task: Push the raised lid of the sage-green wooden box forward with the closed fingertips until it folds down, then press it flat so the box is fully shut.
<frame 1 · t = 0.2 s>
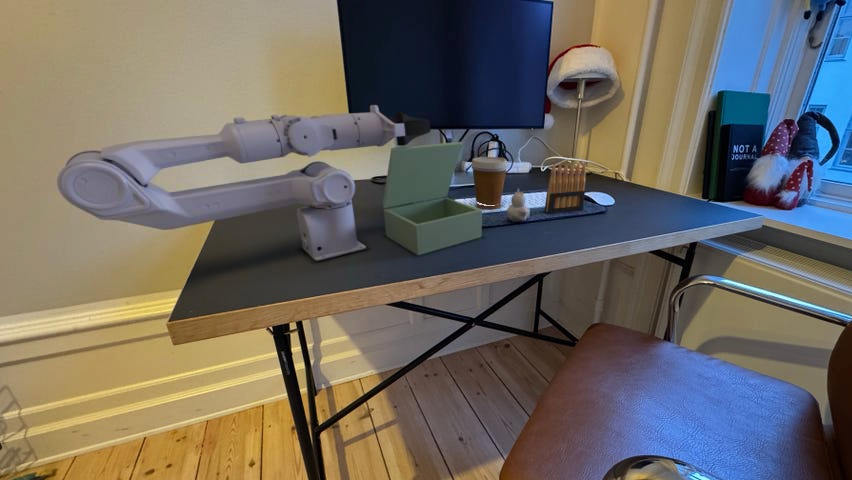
hand: (418, 125, 72), 21 cm above the table, tool horizontal, fingers open, 7 cm apart
ammunition clip: (563, 211, 95), on the table
box: (434, 236, 77), on the table
disposable coffee cup: (488, 206, 98), on the table
box lid: (422, 175, 74), point 12 cm above the table, hinge at 64.0°
light grey rounded piece: (517, 222, 87), on the table
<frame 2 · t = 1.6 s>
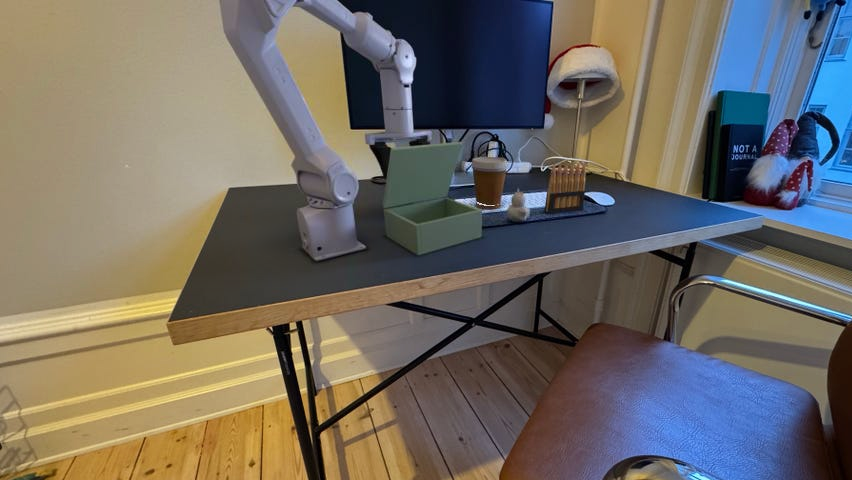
hand: (402, 176, 80), 10 cm above the table, tool pointing down, fingers open, 7 cm apart
nothing on the table moved.
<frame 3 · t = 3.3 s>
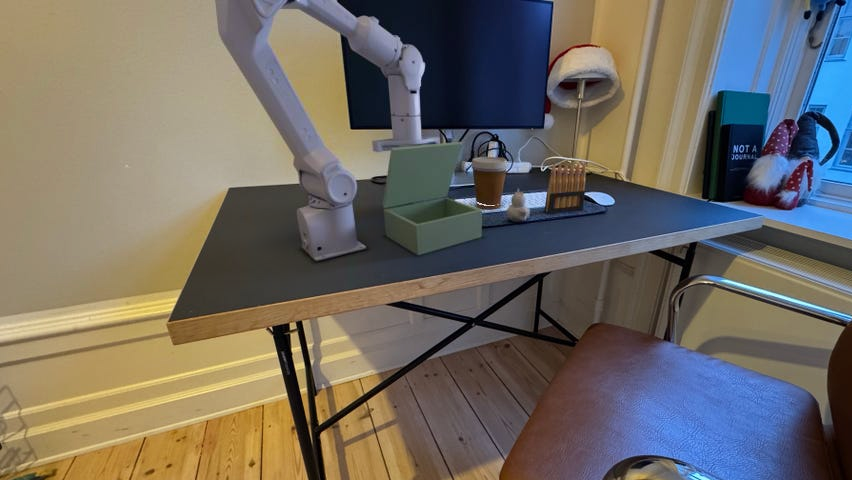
hand: (410, 184, 79), 9 cm above the table, tool pointing down, fingers closed
nothing on the table moved.
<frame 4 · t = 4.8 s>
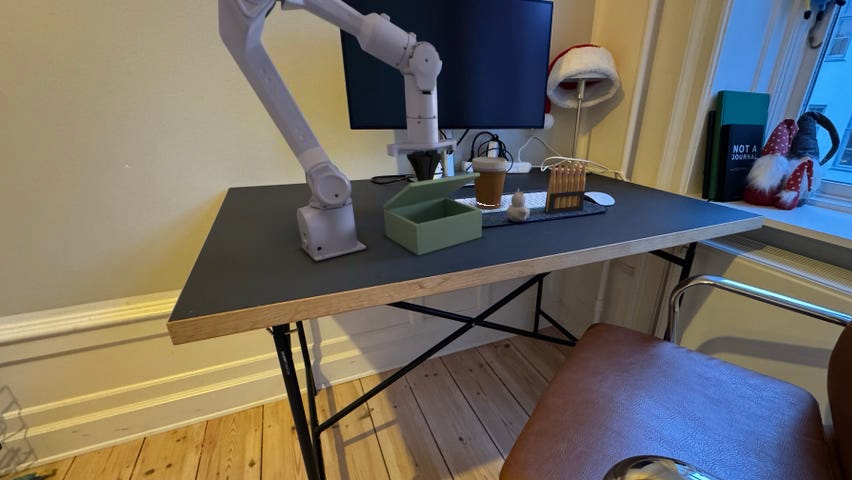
hand: (425, 189, 74), 9 cm above the table, tool pointing down, fingers closed
box lid: (430, 190, 73), point 10 cm above the table, hinge at 30.3°
everything else where it was.
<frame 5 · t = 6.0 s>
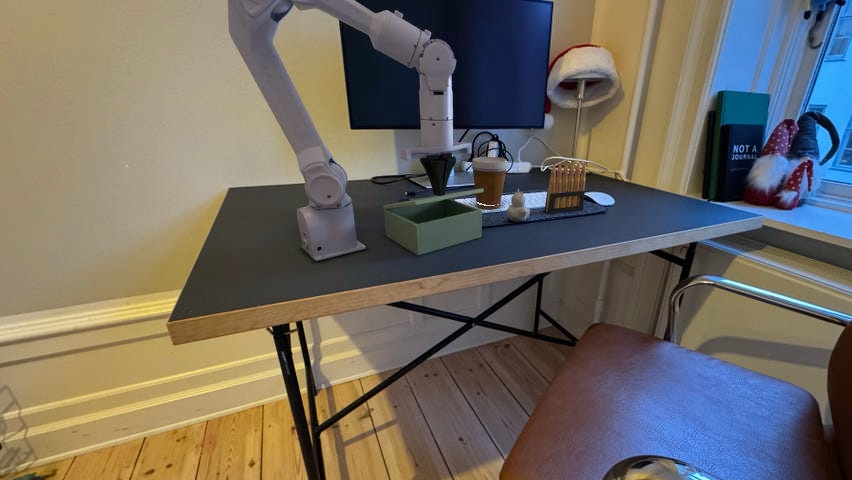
hand: (439, 194, 71), 9 cm above the table, tool pointing down, fingers closed
box lid: (432, 198, 73), point 8 cm above the table, hinge at 16.6°
everything else where it was.
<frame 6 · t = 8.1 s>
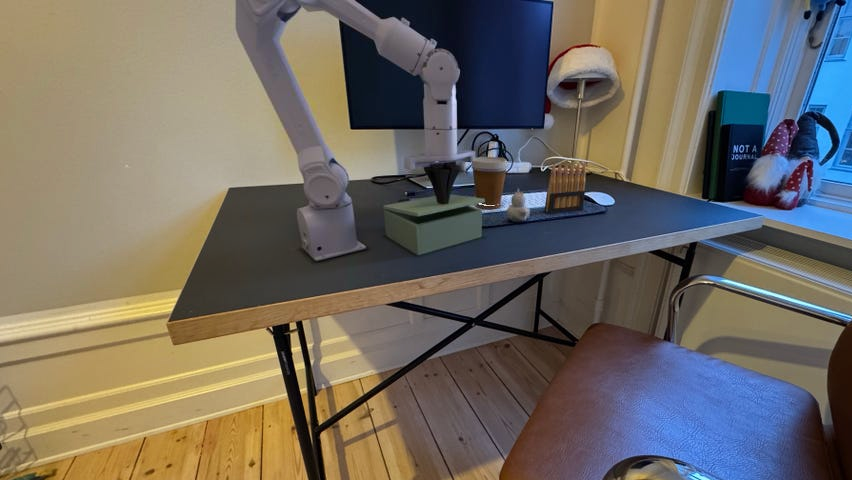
hand: (442, 203, 71), 8 cm above the table, tool pointing down, fingers closed, pressing on box lid
box lid: (433, 203, 74), point 7 cm above the table, hinge at 7.9°, touching gripper
everything else where it was.
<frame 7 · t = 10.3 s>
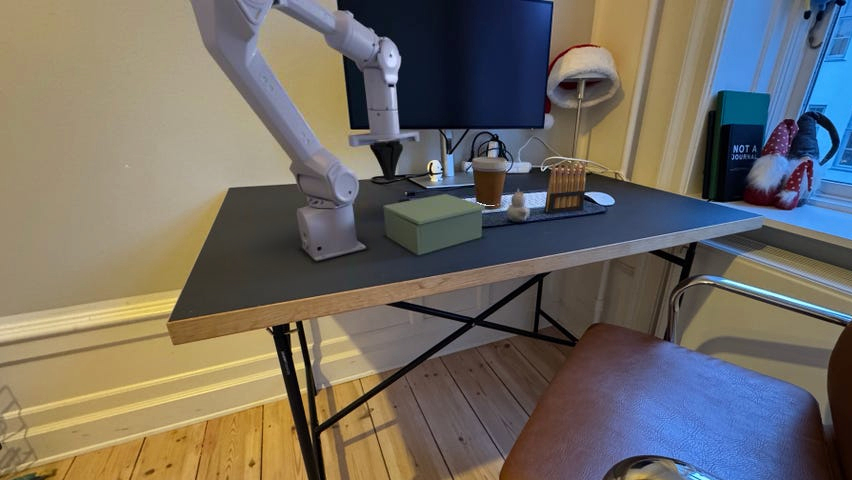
hand: (389, 179, 78), 10 cm above the table, tool pointing down, fingers closed
box lid: (434, 207, 74), point 6 cm above the table, hinge at 1.6°
everything else where it was.
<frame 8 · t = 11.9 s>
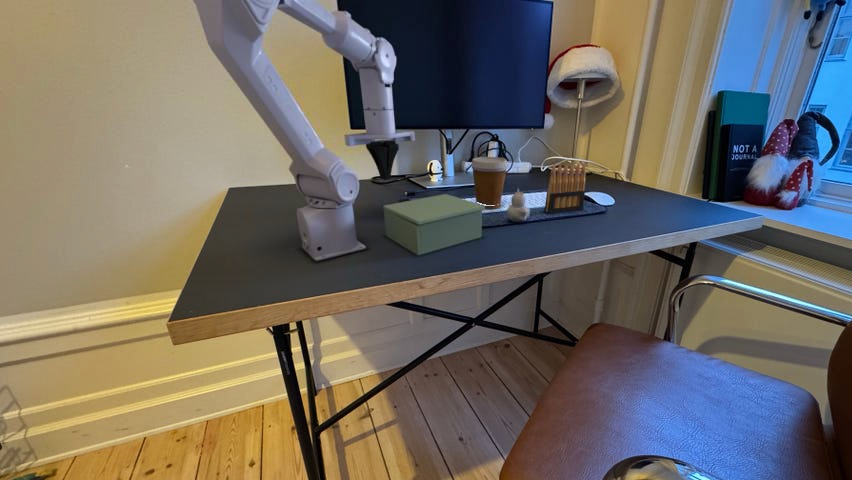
hand: (385, 178, 78), 10 cm above the table, tool pointing down, fingers closed
nothing on the table moved.
at the end: box lid at +2° (first picture: +64°); disposable coffee cup moved 0.2 cm from its start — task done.
